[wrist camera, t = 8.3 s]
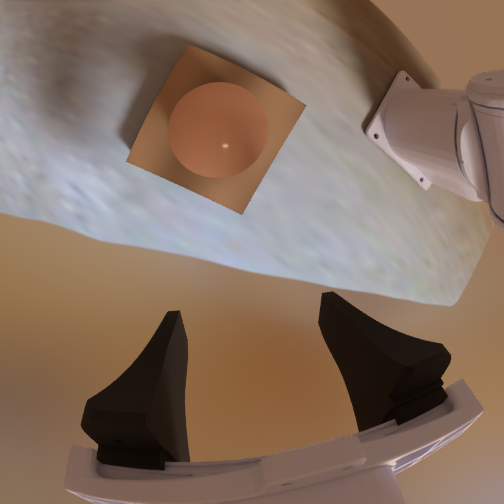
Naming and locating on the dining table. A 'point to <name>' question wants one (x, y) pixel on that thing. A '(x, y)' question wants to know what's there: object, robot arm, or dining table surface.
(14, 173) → the dining table surface
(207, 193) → the walnut board
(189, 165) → the tan rounded cylinder
